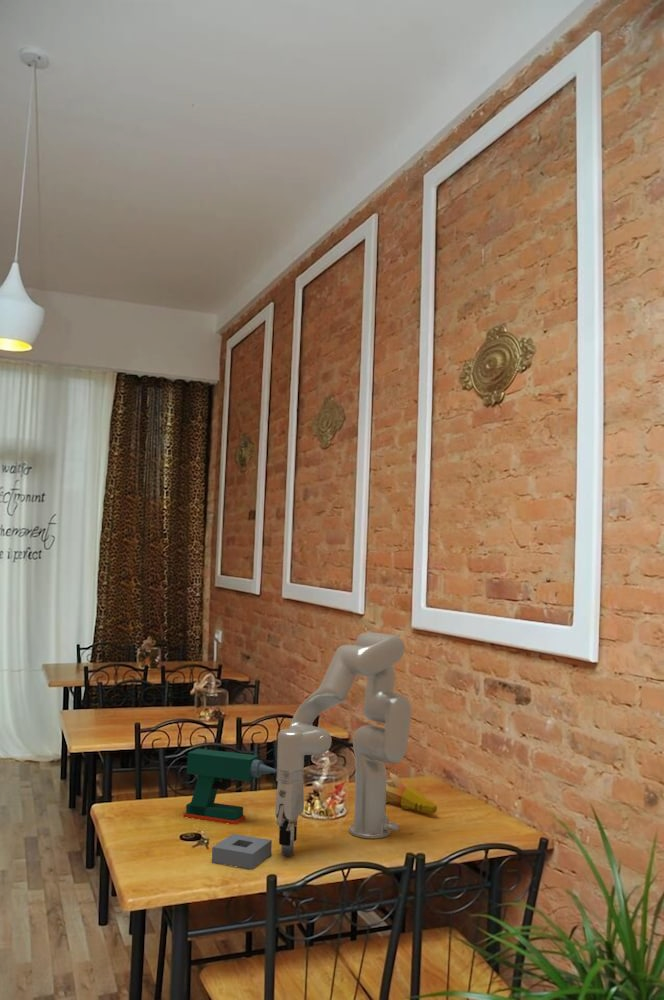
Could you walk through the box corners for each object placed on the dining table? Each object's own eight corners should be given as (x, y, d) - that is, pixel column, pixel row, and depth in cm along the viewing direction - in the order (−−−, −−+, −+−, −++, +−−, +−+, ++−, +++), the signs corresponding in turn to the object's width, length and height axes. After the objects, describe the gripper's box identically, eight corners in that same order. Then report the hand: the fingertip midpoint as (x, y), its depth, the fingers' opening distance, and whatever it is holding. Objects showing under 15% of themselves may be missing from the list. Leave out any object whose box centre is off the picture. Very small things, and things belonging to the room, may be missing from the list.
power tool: (285, 824, 248) (287, 758, 249) (276, 831, 241) (278, 763, 243) (194, 811, 258) (196, 748, 260) (183, 817, 252) (186, 752, 253)
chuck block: (271, 854, 221) (271, 839, 221) (252, 869, 210) (252, 853, 210) (232, 848, 225) (233, 833, 226) (211, 862, 214) (212, 847, 214)
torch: (431, 830, 257) (378, 801, 276) (447, 815, 262) (394, 787, 281) (425, 810, 255) (372, 782, 274) (441, 795, 259) (388, 769, 278)
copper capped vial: (296, 853, 223) (297, 814, 223) (290, 858, 219) (292, 818, 220) (283, 851, 224) (285, 812, 225) (278, 855, 220) (279, 816, 221)
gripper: (290, 783, 214) (288, 854, 213) (313, 769, 230) (311, 835, 228) (265, 780, 217) (262, 850, 215) (289, 766, 232) (287, 831, 231)
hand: (287, 841), depth 222 cm, fingers closed on copper capped vial, 3 cm apart
